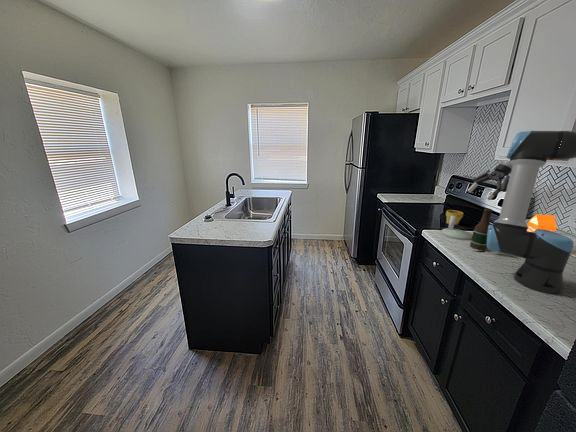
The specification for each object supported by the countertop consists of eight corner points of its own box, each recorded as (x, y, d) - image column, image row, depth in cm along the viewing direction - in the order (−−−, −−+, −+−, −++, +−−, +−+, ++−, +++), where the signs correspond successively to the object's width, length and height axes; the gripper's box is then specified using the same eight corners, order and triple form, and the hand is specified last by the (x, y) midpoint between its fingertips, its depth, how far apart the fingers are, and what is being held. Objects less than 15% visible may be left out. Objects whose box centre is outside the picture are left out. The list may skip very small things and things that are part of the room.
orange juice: (548, 251, 138) (560, 217, 132) (530, 249, 140) (541, 216, 134) (537, 245, 145) (549, 213, 139) (520, 244, 147) (531, 212, 141)
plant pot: (463, 227, 175) (467, 214, 172) (449, 226, 175) (452, 213, 172) (454, 222, 184) (457, 210, 181) (440, 222, 185) (443, 209, 182)
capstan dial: (477, 240, 149) (482, 223, 145) (451, 239, 149) (454, 223, 146) (460, 230, 164) (464, 215, 161) (436, 230, 164) (439, 215, 161)
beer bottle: (470, 250, 137) (481, 209, 130) (468, 245, 144) (478, 206, 137) (487, 253, 134) (499, 211, 127) (484, 248, 140) (495, 208, 133)
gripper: (530, 176, 136) (499, 205, 141) (489, 166, 158) (464, 191, 163) (525, 168, 133) (493, 199, 138) (484, 159, 155) (458, 185, 160)
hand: (477, 195), depth 150 cm, fingers open, 13 cm apart
